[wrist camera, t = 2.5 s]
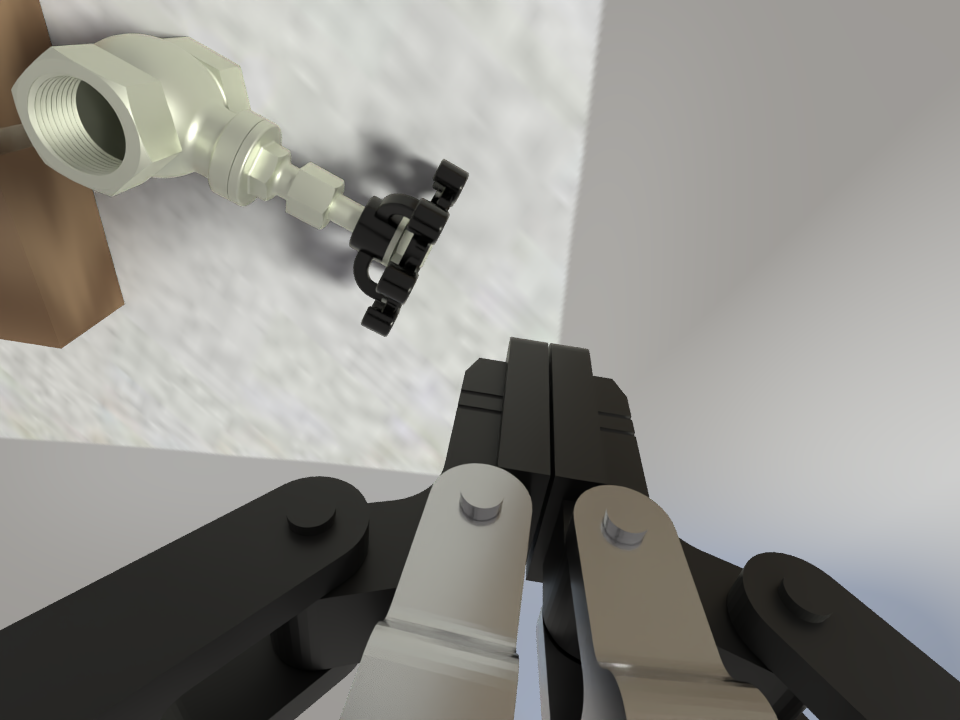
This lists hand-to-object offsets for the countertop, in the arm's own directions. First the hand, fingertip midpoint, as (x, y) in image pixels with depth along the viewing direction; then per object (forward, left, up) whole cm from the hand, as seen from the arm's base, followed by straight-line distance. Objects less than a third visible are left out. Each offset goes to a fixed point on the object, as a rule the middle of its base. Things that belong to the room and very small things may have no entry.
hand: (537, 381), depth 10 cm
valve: (0, -9, -13) cm, 16 cm away
